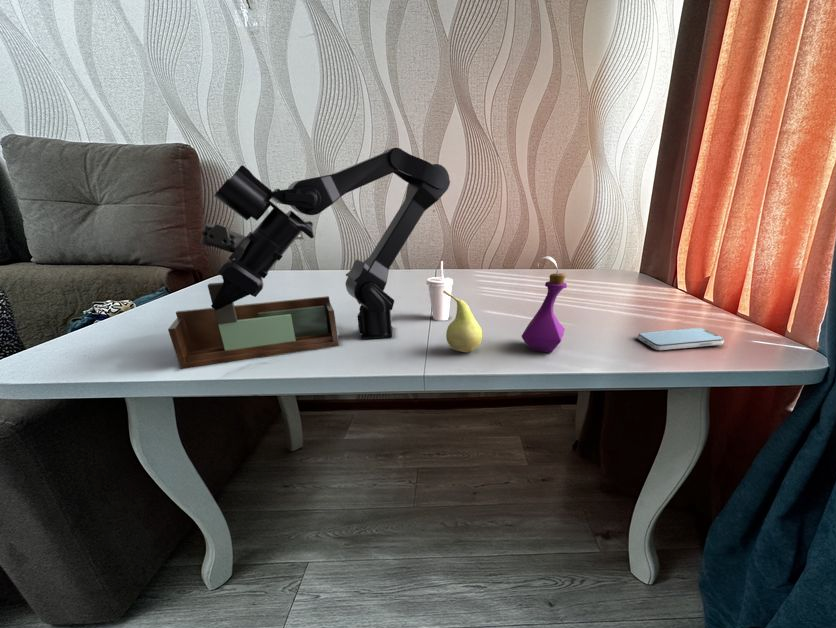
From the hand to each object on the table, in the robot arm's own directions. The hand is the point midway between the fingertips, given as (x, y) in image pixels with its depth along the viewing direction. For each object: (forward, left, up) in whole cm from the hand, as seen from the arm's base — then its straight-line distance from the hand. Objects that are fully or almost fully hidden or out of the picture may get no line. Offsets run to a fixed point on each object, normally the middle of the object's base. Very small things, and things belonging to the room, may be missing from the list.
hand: (214, 306), depth 67 cm
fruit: (-44, +4, -10) cm, 45 cm away
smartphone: (-89, +7, -10) cm, 90 cm away
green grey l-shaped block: (-6, -1, -9) cm, 11 cm away
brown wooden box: (-5, -4, -10) cm, 12 cm away
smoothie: (-42, -18, -10) cm, 47 cm away
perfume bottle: (-60, +5, -10) cm, 61 cm away
